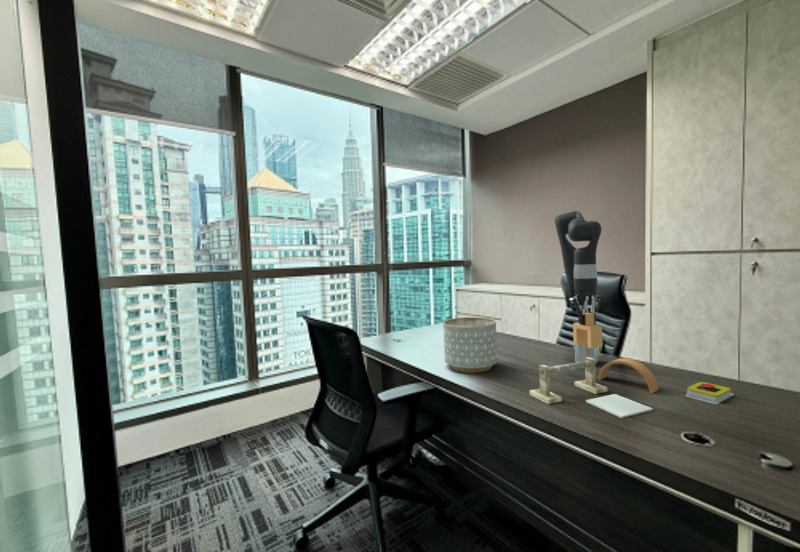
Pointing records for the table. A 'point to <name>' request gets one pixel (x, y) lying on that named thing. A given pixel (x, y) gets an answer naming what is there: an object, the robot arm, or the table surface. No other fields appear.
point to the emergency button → (709, 392)
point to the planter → (470, 344)
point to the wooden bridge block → (588, 332)
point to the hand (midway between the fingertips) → (586, 324)
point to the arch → (636, 365)
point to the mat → (619, 405)
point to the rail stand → (585, 384)
